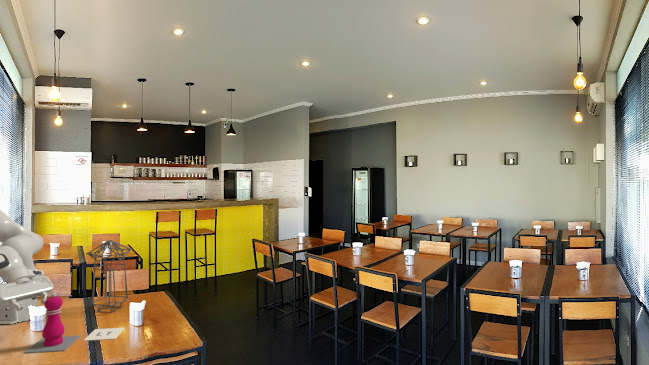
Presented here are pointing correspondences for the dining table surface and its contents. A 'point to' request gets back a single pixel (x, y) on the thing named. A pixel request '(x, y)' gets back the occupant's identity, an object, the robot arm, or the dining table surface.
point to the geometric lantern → (104, 245)
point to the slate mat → (61, 347)
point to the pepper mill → (53, 322)
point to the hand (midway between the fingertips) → (33, 306)
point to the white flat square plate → (104, 334)
